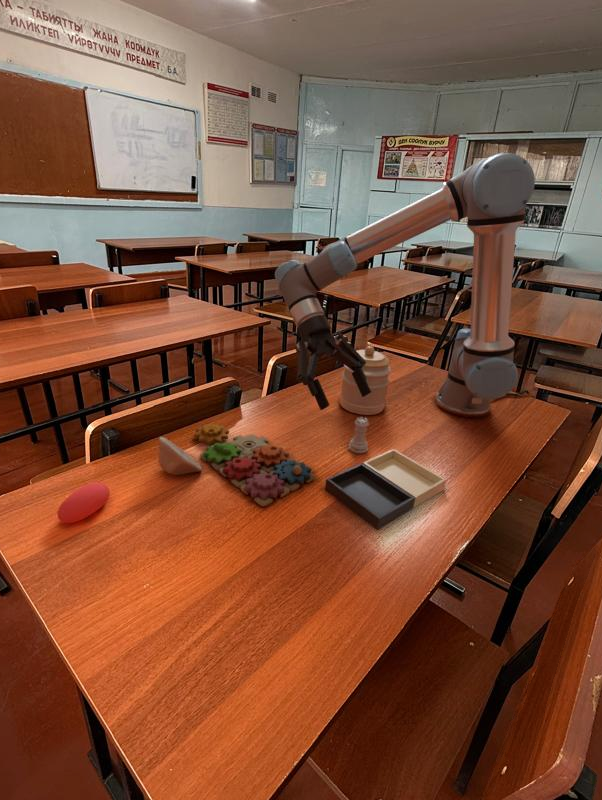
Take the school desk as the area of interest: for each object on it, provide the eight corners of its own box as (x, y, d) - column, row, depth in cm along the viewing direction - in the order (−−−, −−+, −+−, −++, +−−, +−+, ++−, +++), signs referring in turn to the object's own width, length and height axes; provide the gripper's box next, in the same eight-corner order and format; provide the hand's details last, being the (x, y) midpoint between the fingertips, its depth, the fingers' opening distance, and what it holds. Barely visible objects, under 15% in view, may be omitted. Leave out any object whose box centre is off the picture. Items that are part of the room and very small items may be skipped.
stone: (209, 465, 94) (210, 447, 86) (192, 492, 90) (191, 476, 82) (167, 442, 94) (164, 422, 86) (148, 469, 91) (143, 451, 82)
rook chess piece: (366, 456, 100) (371, 425, 97) (347, 452, 101) (351, 422, 97) (368, 446, 104) (372, 416, 101) (349, 443, 105) (353, 413, 101)
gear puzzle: (175, 440, 100) (174, 425, 98) (233, 420, 110) (233, 406, 109) (261, 510, 80) (262, 492, 79) (322, 478, 91) (323, 461, 89)
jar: (331, 398, 127) (337, 340, 119) (368, 393, 132) (377, 337, 125) (353, 419, 116) (362, 356, 109) (393, 412, 122) (404, 352, 114)
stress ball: (119, 516, 78) (119, 480, 78) (70, 526, 70) (70, 487, 71) (101, 514, 81) (101, 479, 81) (52, 524, 73) (52, 486, 73)
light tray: (391, 457, 100) (393, 448, 99) (444, 489, 91) (446, 479, 90) (361, 472, 94) (362, 462, 93) (413, 507, 84) (416, 497, 83)
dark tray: (360, 472, 94) (361, 462, 93) (412, 508, 84) (415, 498, 83) (324, 489, 88) (326, 478, 87) (377, 529, 78) (379, 518, 77)
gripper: (339, 323, 116) (373, 395, 112) (261, 335, 101) (297, 419, 97) (356, 308, 110) (392, 383, 106) (276, 319, 95) (314, 407, 91)
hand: (346, 401), depth 102 cm, fingers open, 13 cm apart
